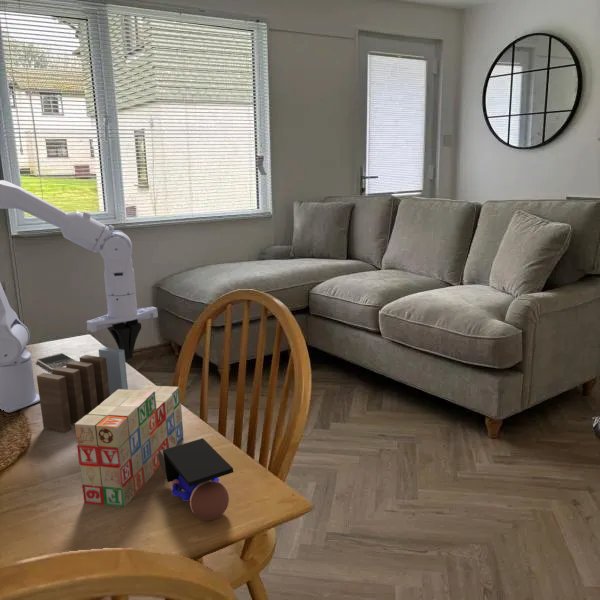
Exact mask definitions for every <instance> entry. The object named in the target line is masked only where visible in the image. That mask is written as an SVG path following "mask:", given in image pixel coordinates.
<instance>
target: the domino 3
mask: <svg viewBox="0 0 600 600" xmlns="http://www.w3.org/2000/svg"><path fill="white" fill-rule="evenodd" d="M66 368H71V369H78V370H80V378H81V386H82V395H83V403H84V412H85V415H88V413H90V412H91V411H92V410H93V409H95V408H96V407H97V406H98V403H97V394H96V385H95V376H94V367H93V364H92V363H85V362H80V360H79V361H77V360H75V361H70V362H68V363H66Z"/></svg>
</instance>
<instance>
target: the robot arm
mask: <svg viewBox="0 0 600 600" xmlns="http://www.w3.org/2000/svg"><path fill="white" fill-rule="evenodd" d="M1 209H2V210H5V209H6V210H9V209H10V210H13V209H17V210H20V211H22V212H24V213H25V214H26V213H27V214H29V215H31V216H33V217H35V218H37V219H40V220H41V221H44V222H46V223H48V224H50V225H53V226H55V227H57V228H59V229H60V232H61V234H62V237H63V238H64V239H66V240H68V241H70V242H71V243H73V244H76V245H77V246H80V247H82V248H84V249H86V250H88V251H89V252H90V251H91V252H93V253H100V256H101V258H102V259H103V265H104V270H103V277H104V286H105V287H104V288H105V289H104V290H105V298H106V308H107V314H105V315H101V316H98V317H95V318H93V319H89V320H86V329H87V331H88V332H90V333H94V332H97V331H99V330H102V329H106V328H107V330H108V332H109V333H110V334H111V336H112V337H113V339H114V341H115V343H116V344H117V347H118V348H117V349H121V350H124V354H125V361H126V360H130V359H133V357H134V352H135V351H134V349H135V346H136V341H137V338H138V335H139V333H140V332H141V329H142V323H140V322H139V321H142V320H146V319H151V318H153V319H155V318H158V317H159V315H158V307H155V306H148V307H141V308H138V301H137V290H136V280H135V279H136V278H135V269H134V268H133V265H134V261H133V259H132V255H133V251H134V250H133V244H132V240H131V239H130V237H129V236H128V235H127V234H126V233H125V232H123V230H120V229H115V226H113V225H111V224H109V225H106V224H104V223H103V222H101V221H98V220H96V219H94V218H93V217H92V214H91V212H89V211H86V210H85V211H84V212H81V211H79V210H76V211H75V210H74V211H73V212H66V211H64V210H62V209H61V208H59V207H57V206H55V205H53V204H52V203H50V202H48V201H46V200H45V199H43V198H41V197H39V196H37V195H36V194H34V193H32V192H30V191H28V190H26V189H25V188H23V187H21V186H19V185H17V184H15V183H12V182H10V181H7V180H4V179H0V210H1ZM8 300H9V299H8V297H7V294H6V293H5V291H4V288H3V285H2V283H1V281H0V409H1V410H0V411H3V410H4V411H3V412H6V413H7V414H8V413H13V412H16V411H18V410H21V409H24V408H26V407H28V406H32V405H34V404H36V403H37V404H38V403H40V397H39V393H37V391H36V390H37V389H36V384H35V378H34V377H35V376H34V369H33V368H34V367H33V363H32V362H33V361H32V353H31V352H30V351H29V350H28V349H27V347H26V346H27V345H28V344H29V342H30V337H31V334H30V331H29V328H28V327H27V326H26V325H25V324H24V323H23V322H22V321H21V320H20V319H19V316H18V314H17V312H16V311H15V310H13V308H12V307H11V305H10V303H9V301H8Z"/></svg>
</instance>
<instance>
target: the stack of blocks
mask: <svg viewBox="0 0 600 600" xmlns="http://www.w3.org/2000/svg"><path fill="white" fill-rule="evenodd" d="M74 429H75V436H76V443H77V444H76V447H77V448H76V449H77V456H78V457H77V458H78V463H79V469H80V476H81V483H82V484H81V488H82V495H83V502H84V504H88V505H89V504H91V505H99V506H100V505H101V506H112V507H113V506H114V507H119V508H120V507H121V508H125V507H126V506H127V505H128V504H129V503H130V502H131V500H132V499H133V498H134V496H136V495H137V494H138V493H139V491H140V490H141V489H142V488H143V487H144V485H145V484H146V483H147V482H148V481H149V480H150V479H151V477H152V476H153V475H154V473H155V471H156V470H157V469H158V468H159V466H160V462H159V457H158V452H159V451H160V450H163V449H167V448H171V447H175V446H178V445H179V443H180V442H181V440H182V439H183V438H184V426H183V412H182V404H181V398H180V387H179V386H169V385H144V386H142V388H140V389H128V390H124V389H118V390H117V391H115V392H114V393H113V394H112V395H110V396H109V397H108V398H107V399H106V400H104V401H103V402H102V403H101V404H100V405H99V406H97V407H96V408H95V409H93V410H92V411H91V412H90V413H88V415H85V416H84V417H83V418H82V419H80V420H79V421H78V422H76V423H75V424H74Z"/></svg>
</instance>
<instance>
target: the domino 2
mask: <svg viewBox="0 0 600 600" xmlns="http://www.w3.org/2000/svg"><path fill="white" fill-rule="evenodd" d="M51 374H55V375H60V376H65V379H66V387H67V395H68V403H69V411H70V419H71V425H75V423H76V422H78V421H79V420H80V419H82V418H83V417H84V416H85V412H84V403H83V395H82V386H81V378H80V370H78V369H71V368H65V367H59V366H58V367H56V368H54V369H52V372H51Z"/></svg>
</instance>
